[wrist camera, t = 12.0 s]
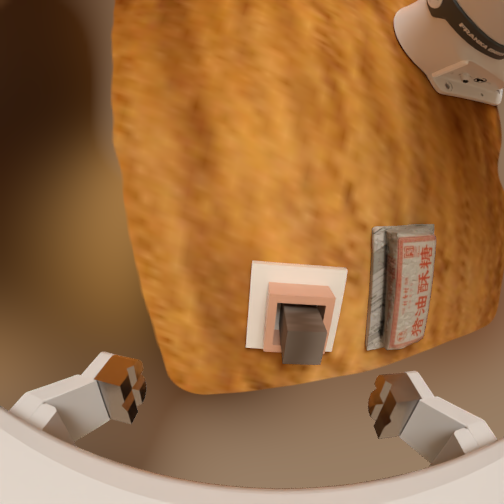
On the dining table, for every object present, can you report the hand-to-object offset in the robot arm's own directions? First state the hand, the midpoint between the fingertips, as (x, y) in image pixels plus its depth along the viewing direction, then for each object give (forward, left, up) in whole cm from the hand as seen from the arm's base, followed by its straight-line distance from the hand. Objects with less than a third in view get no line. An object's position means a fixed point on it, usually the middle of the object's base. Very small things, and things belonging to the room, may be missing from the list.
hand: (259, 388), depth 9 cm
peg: (-5, +9, -26) cm, 28 cm away
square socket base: (-5, +9, -27) cm, 29 cm away
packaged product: (-20, +6, -28) cm, 35 cm away
